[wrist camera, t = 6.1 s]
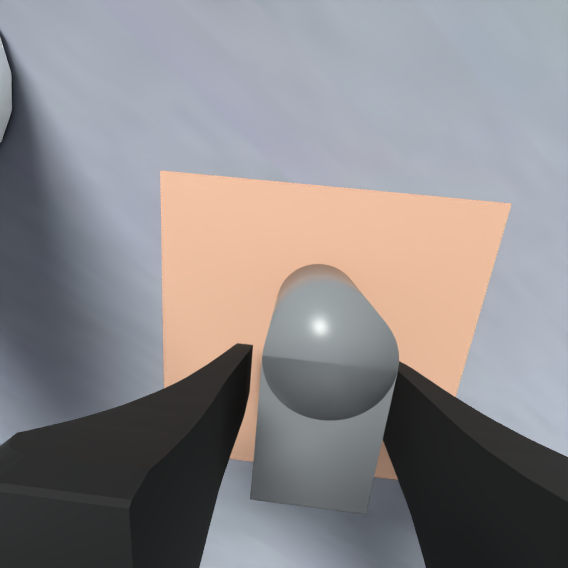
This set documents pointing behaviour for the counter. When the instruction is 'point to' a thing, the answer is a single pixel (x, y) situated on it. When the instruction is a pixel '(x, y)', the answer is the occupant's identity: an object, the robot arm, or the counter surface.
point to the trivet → (320, 250)
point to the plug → (322, 394)
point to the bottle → (4, 91)
